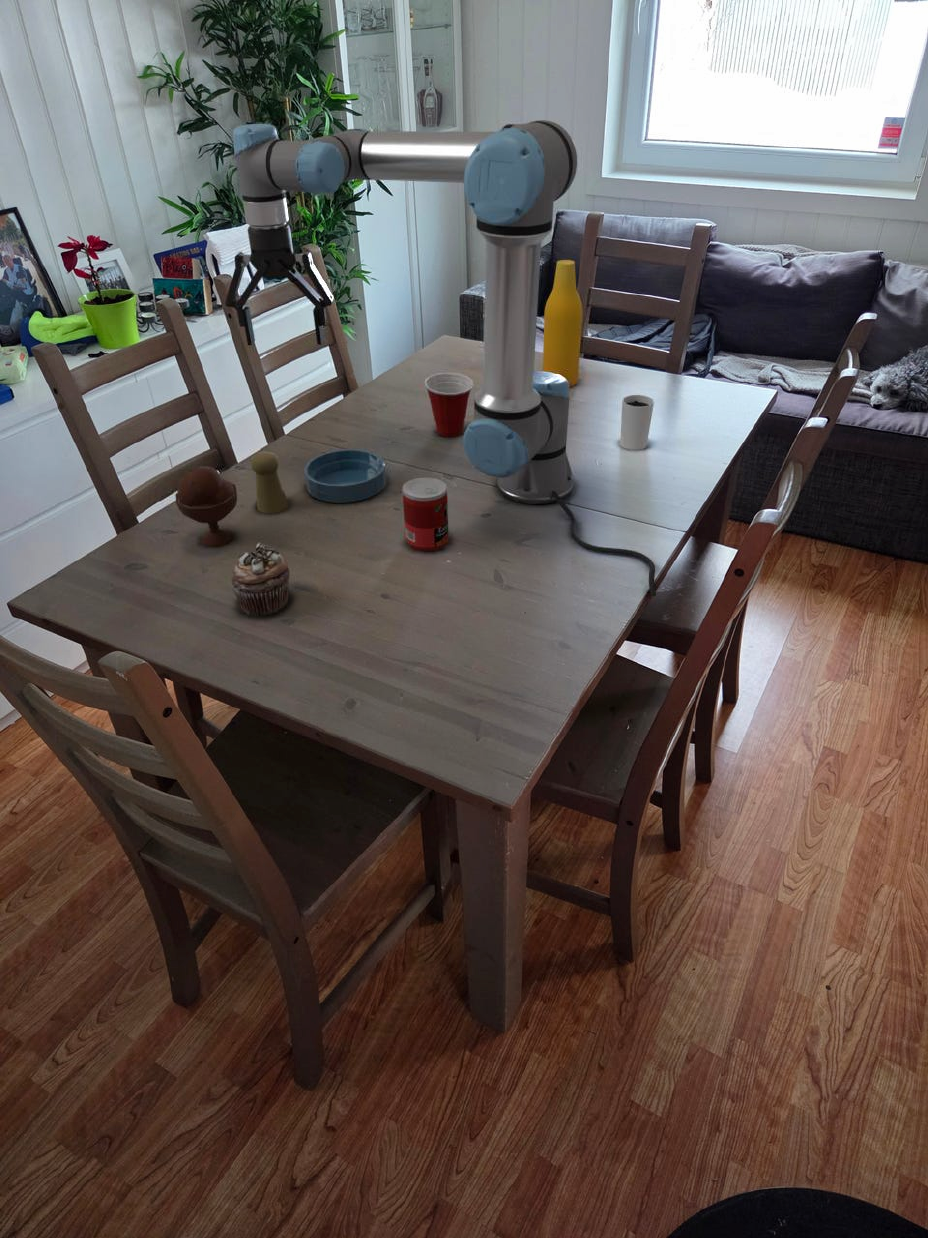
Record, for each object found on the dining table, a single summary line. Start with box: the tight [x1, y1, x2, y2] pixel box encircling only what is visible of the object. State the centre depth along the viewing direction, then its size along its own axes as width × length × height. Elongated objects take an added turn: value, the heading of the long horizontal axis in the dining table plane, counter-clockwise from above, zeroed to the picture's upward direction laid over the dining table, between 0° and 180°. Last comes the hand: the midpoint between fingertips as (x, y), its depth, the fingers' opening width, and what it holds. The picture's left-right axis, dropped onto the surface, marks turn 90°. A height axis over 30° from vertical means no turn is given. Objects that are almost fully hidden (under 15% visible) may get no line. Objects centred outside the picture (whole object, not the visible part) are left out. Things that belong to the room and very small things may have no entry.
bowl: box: [303, 448, 387, 504], centre depth 171 cm, size 16×16×4 cm
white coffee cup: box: [619, 394, 655, 451], centre depth 181 cm, size 7×7×10 cm
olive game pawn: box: [250, 451, 289, 514], centre depth 162 cm, size 6×6×11 cm
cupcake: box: [229, 542, 290, 617], centre depth 136 cm, size 10×10×10 cm
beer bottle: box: [541, 259, 583, 388], centre depth 205 cm, size 9×9×29 cm
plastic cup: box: [424, 372, 474, 438], centre depth 187 cm, size 11×11×12 cm
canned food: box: [402, 477, 450, 552], centre depth 150 cm, size 8×8×11 cm
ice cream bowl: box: [175, 465, 238, 547], centre depth 151 cm, size 11×11×15 cm
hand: (286, 342), depth 163 cm, fingers open, 13 cm apart
